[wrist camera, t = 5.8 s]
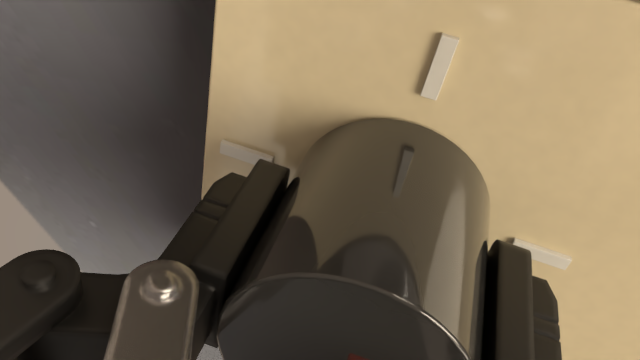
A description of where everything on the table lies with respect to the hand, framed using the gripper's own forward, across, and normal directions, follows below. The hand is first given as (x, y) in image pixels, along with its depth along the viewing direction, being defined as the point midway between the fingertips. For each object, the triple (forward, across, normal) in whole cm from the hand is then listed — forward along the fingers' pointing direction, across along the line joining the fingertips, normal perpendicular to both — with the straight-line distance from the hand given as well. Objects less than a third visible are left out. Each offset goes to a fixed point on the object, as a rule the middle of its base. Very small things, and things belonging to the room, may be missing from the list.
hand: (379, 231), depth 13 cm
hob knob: (+1, 0, 0) cm, 1 cm away
